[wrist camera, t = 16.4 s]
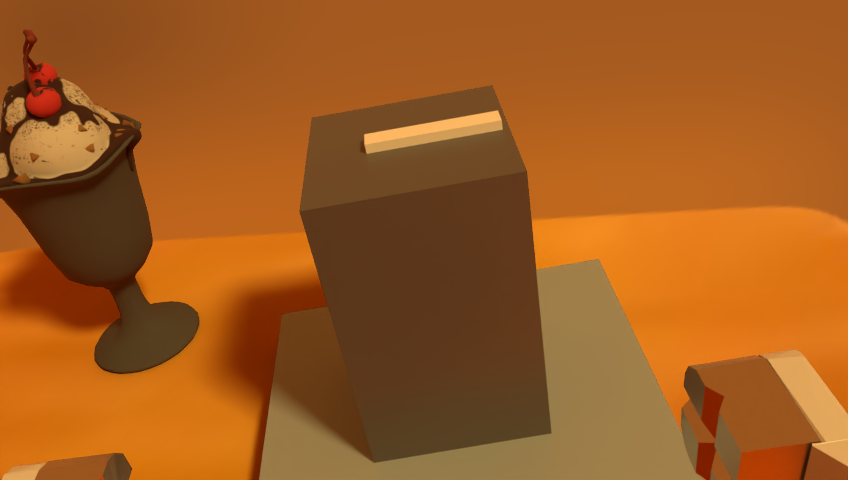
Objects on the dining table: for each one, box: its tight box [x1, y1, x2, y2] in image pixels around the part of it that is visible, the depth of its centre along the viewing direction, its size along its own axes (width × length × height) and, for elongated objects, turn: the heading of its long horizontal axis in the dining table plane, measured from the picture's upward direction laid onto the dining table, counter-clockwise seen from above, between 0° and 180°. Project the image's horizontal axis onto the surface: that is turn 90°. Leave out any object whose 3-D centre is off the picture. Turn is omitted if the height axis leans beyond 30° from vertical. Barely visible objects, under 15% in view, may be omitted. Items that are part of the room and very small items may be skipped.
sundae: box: [0, 30, 199, 373], centre depth 31 cm, size 7×7×15 cm
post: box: [259, 259, 704, 480], centre depth 26 cm, size 14×12×8 cm
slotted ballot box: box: [300, 86, 552, 463], centre depth 24 cm, size 6×6×10 cm
